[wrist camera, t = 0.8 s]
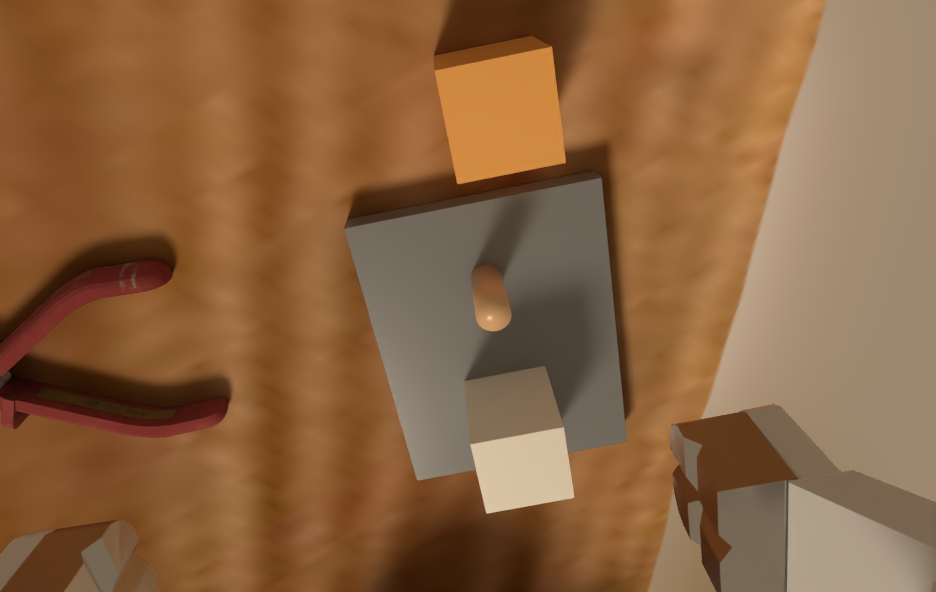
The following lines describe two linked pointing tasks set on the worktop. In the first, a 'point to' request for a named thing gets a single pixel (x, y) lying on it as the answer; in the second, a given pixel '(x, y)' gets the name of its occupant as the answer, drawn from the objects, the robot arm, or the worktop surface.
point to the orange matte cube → (500, 108)
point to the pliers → (82, 407)
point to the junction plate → (497, 332)
